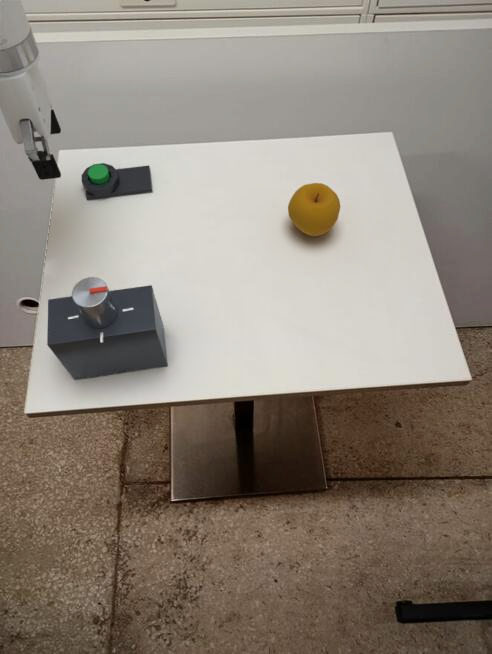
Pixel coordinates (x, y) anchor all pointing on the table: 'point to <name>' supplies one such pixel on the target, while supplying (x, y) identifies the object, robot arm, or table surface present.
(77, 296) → the program dial
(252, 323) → the table surface
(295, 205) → the apple
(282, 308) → the table surface
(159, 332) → the dial panel
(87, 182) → the button block
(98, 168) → the button
